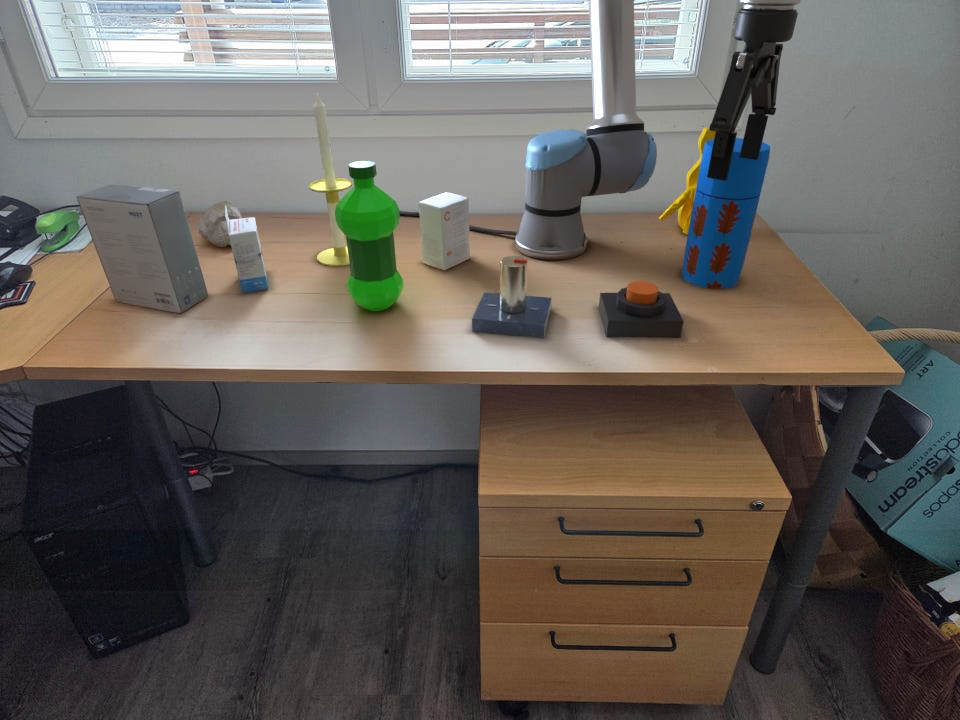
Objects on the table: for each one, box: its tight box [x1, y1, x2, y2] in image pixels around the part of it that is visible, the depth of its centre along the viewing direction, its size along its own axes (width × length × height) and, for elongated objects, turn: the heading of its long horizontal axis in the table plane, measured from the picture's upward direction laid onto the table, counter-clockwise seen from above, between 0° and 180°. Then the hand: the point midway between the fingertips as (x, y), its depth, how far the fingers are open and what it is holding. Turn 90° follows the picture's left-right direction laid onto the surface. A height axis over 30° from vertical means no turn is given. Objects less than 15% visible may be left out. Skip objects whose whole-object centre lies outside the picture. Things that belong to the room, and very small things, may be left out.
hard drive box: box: [76, 184, 209, 314], centre depth 108 cm, size 16×8×20 cm, turn 71°
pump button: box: [626, 280, 660, 304], centre depth 101 cm, size 5×5×2 cm
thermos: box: [681, 137, 771, 290], centre depth 112 cm, size 11×11×25 cm
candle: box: [308, 90, 353, 267], centre depth 121 cm, size 10×10×32 cm
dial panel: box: [471, 291, 552, 339], centre depth 105 cm, size 12×10×3 cm
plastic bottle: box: [335, 160, 404, 312], centre depth 104 cm, size 10×10×25 cm
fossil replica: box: [198, 200, 243, 248], centre depth 135 cm, size 12×8×10 cm
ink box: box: [225, 205, 269, 294], centre depth 115 cm, size 8×5×15 cm, turn 20°
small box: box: [418, 191, 471, 271], centre depth 123 cm, size 8×6×13 cm
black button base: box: [598, 286, 685, 339], centre depth 103 cm, size 12×10×5 cm
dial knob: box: [499, 255, 528, 313], centre depth 101 cm, size 4×4×9 cm
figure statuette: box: [658, 127, 716, 236], centre depth 134 cm, size 18×8×22 cm, turn 86°
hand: (733, 168), depth 93 cm, fingers open, 13 cm apart
